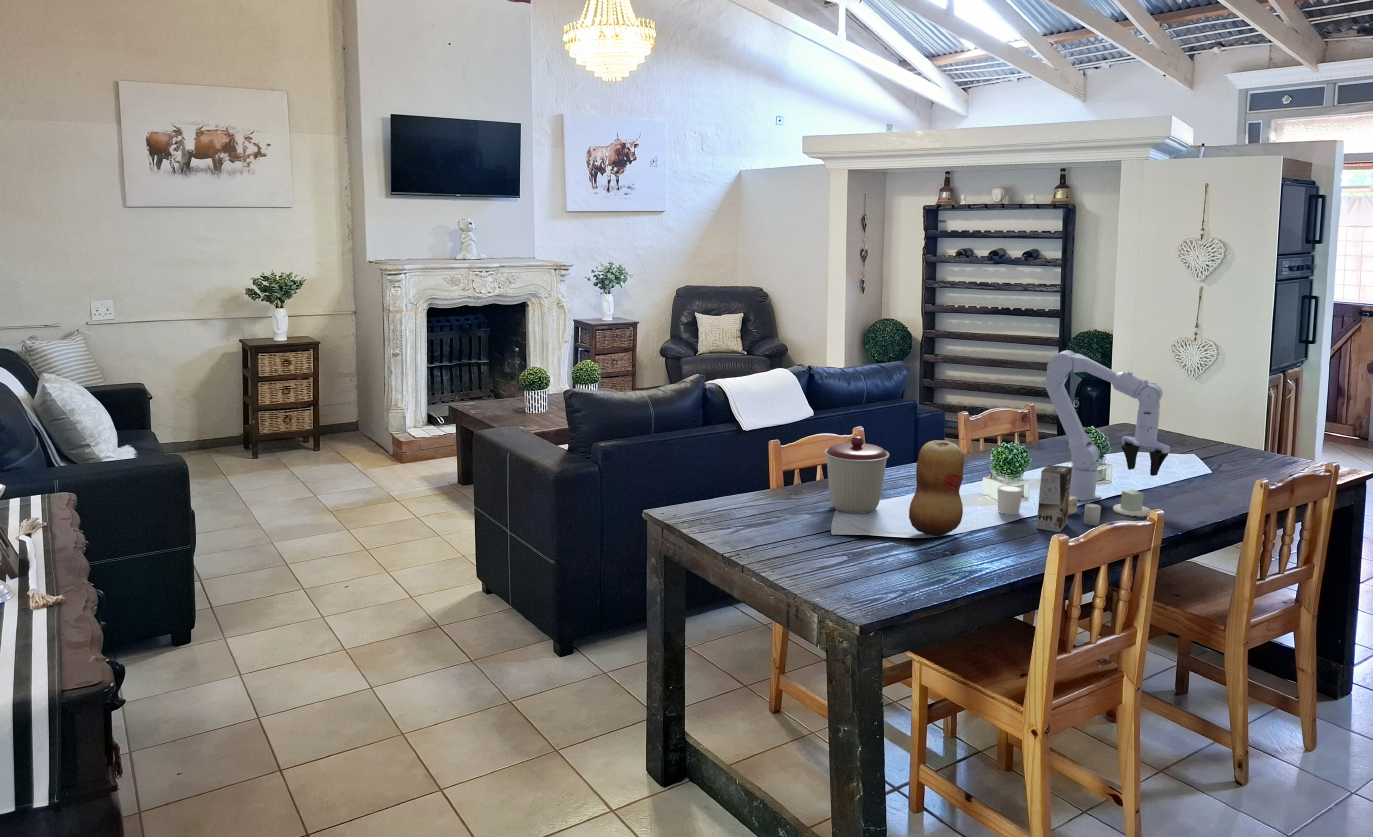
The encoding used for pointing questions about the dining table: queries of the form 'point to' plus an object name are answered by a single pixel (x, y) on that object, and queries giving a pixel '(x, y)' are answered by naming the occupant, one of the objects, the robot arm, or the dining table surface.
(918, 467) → the butternut squash
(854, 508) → the canister
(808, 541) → the dining table surface
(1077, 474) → the robot arm
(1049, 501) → the coffee box
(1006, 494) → the white cup
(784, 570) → the dining table surface
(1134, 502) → the sage block
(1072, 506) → the birch cube
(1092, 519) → the grey cylinder
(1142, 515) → the saucer
